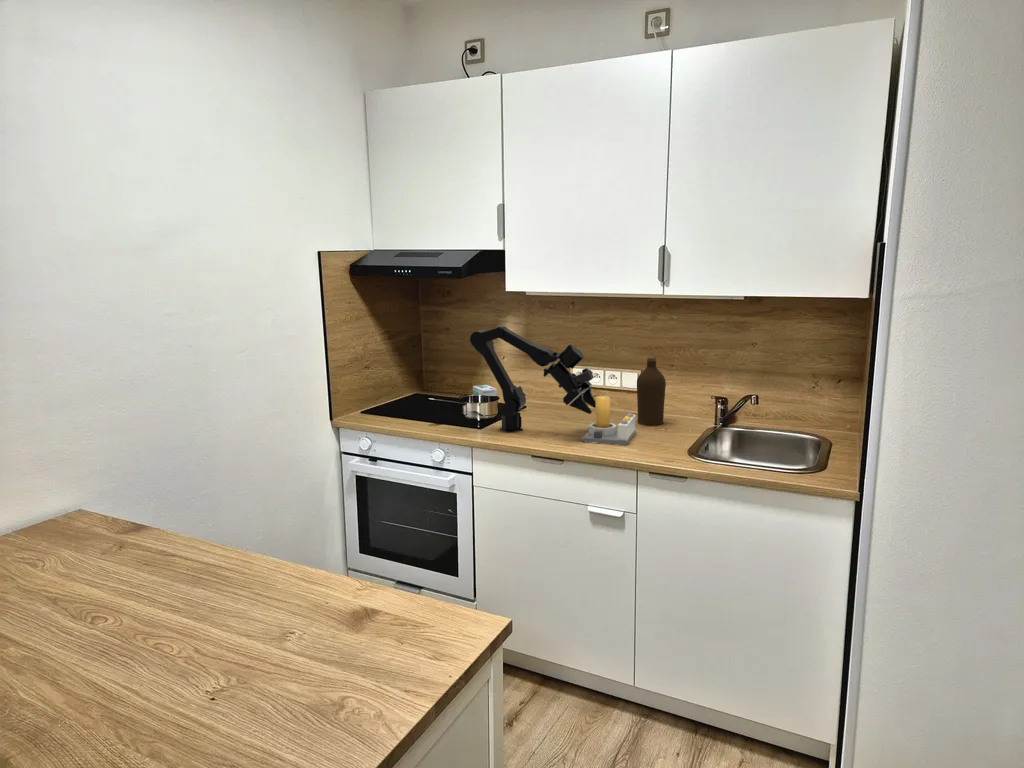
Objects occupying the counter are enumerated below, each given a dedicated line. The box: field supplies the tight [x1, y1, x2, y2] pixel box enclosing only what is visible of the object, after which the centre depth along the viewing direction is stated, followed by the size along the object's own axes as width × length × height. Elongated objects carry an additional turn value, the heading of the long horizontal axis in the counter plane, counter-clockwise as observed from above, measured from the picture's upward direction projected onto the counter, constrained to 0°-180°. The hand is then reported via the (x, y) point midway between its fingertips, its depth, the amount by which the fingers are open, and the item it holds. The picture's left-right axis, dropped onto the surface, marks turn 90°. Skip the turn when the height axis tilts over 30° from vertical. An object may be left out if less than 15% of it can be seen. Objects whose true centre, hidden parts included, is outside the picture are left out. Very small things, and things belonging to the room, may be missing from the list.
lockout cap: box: [594, 395, 611, 428], centre depth 236 cm, size 5×5×12 cm
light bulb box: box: [472, 384, 498, 397], centre depth 276 cm, size 11×7×11 cm, turn 25°
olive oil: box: [636, 356, 667, 426], centre depth 254 cm, size 11×11×25 cm
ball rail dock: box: [581, 412, 637, 446], centre depth 236 cm, size 15×18×8 cm
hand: (594, 410), depth 237 cm, fingers open, 9 cm apart
